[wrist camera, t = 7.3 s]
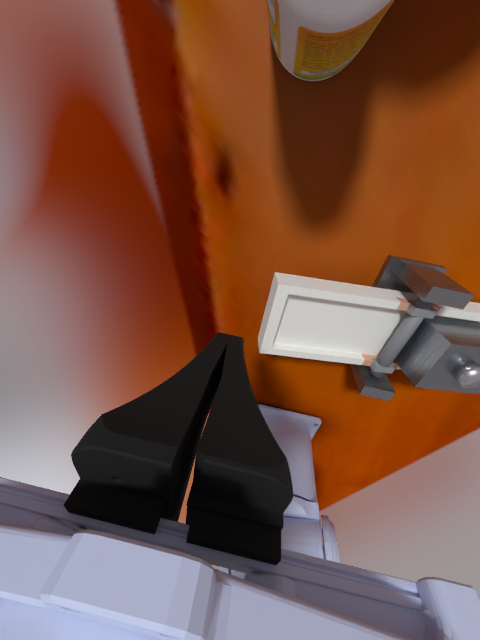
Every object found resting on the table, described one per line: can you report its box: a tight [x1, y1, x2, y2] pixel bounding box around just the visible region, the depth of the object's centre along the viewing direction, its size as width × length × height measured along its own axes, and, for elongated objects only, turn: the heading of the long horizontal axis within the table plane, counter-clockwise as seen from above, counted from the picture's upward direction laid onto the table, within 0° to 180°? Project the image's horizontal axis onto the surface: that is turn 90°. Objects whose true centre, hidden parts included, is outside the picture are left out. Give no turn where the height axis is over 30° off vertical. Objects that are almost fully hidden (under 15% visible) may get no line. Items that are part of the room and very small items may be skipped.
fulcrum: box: [350, 255, 474, 401], centre depth 19 cm, size 10×4×5 cm, turn 171°
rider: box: [394, 316, 480, 394], centre depth 17 cm, size 4×5×4 cm
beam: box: [258, 272, 480, 378], centre depth 19 cm, size 7×20×2 cm, turn 81°
